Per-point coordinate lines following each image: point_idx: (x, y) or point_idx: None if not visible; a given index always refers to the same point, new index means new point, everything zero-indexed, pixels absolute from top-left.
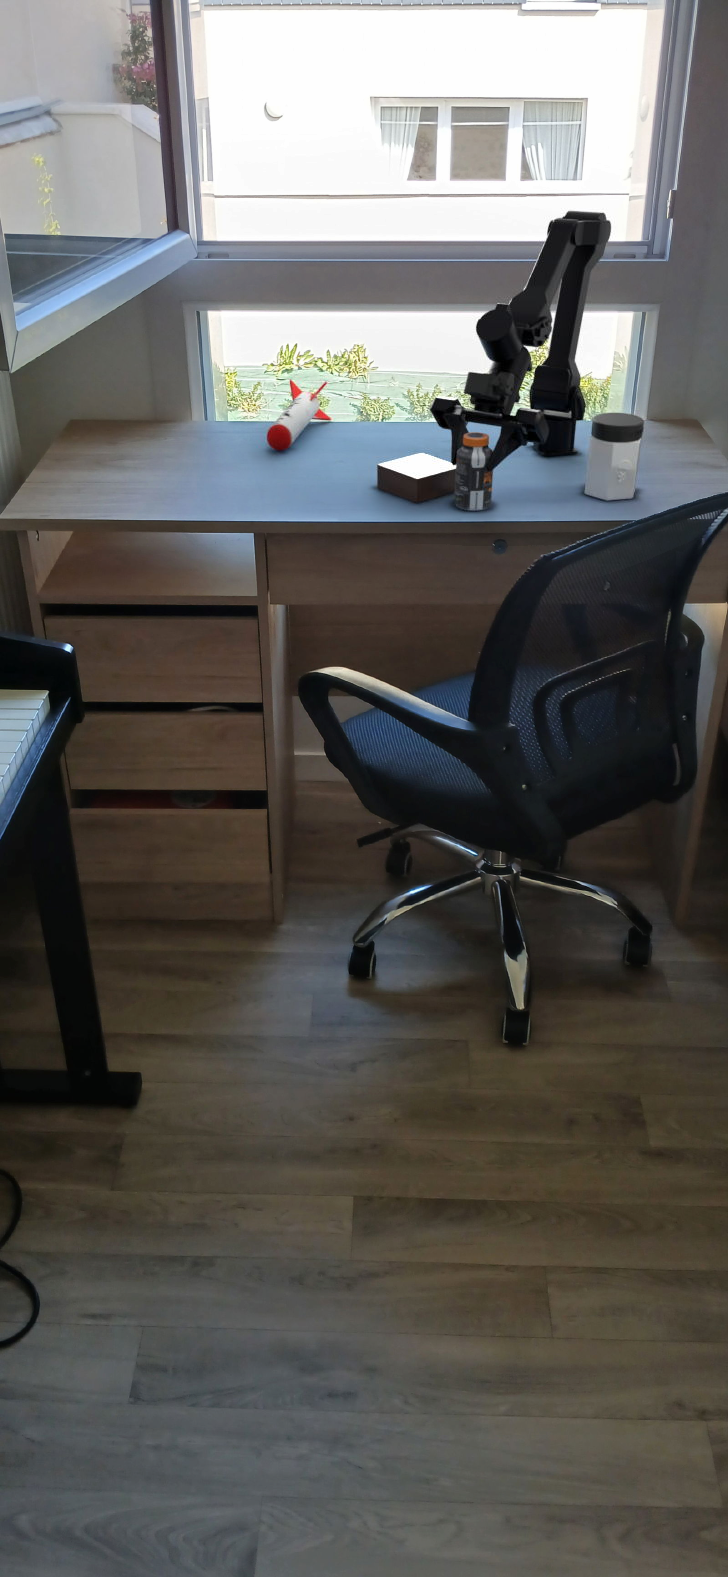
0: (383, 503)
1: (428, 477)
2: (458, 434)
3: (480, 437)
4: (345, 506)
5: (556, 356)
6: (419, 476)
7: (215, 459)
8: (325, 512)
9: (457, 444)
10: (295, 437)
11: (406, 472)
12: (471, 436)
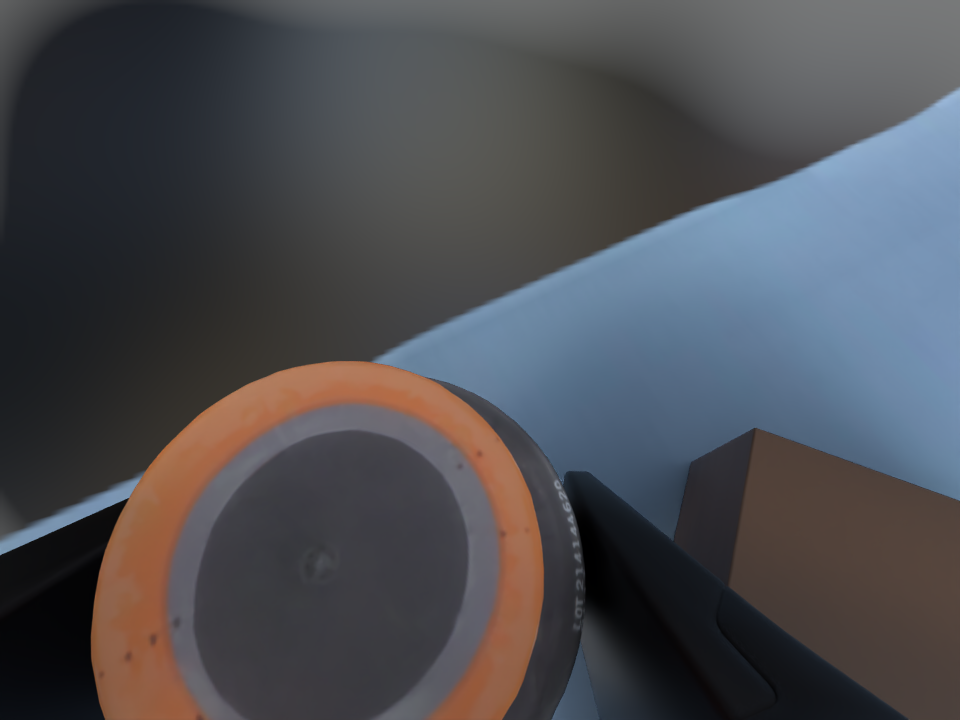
0: (810, 387)
1: (732, 522)
2: (695, 654)
3: (223, 487)
4: (902, 287)
5: None
6: (776, 478)
7: None
8: (902, 207)
9: (616, 562)
10: None
11: (901, 513)
12: (369, 442)
